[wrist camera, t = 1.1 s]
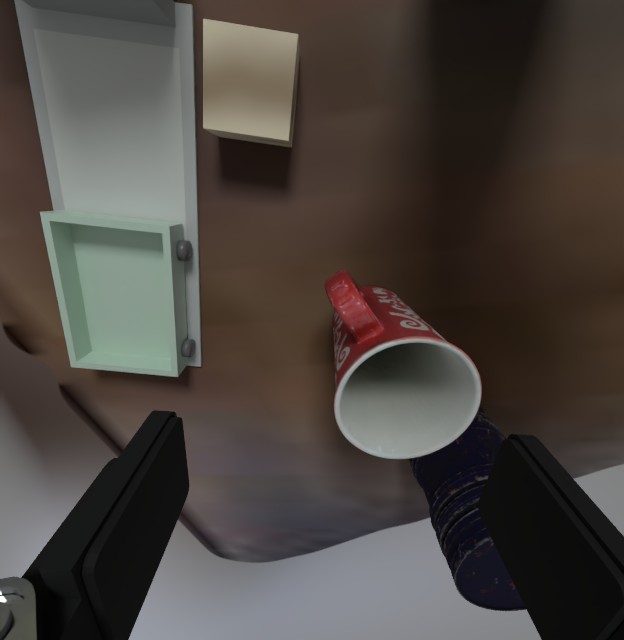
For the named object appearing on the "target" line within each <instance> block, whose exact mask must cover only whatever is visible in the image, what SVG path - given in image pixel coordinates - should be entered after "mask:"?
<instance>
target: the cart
mask: <svg viewBox="0 0 624 640" xmlns="http://www.w3.org/2000/svg"><path fill="white" fill-rule="evenodd" d="M40 215H41V220H42V225H43V230H44V235H45V240H46V245H47V250H48V255H49V260H50V265H51V270H52V275H53V279H54V284H55V289H56V294H57V299H58V304H59V309H60V314H61V319H62V324H63V329H64V334H65V339H66V344H67V348H68V353H69V358H70V363H71V367H77V368H88V369H98V370H109V371H119V372H130V373H140V374H151V375H161V376H172V377H178V376H179V375H180V374H181V372H182V371H183V369H184V368H185V367H186V365H187V364H188V357H192V356H193V354H194V351H195V340H194V339H187V321H186V298H185V274H184V261H187V262H189V261H190V260H191V257H192V244H191V242H190V241H187V240H183V226H182V223H174V222H166V221H157V220H148V219H139V218H131V217H122V216H113V215H104V214H95V213H87V212H78V211H69V210H58V211H45V212H40Z"/></svg>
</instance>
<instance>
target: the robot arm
mask: <svg viewBox="0 0 624 640" xmlns="http://www.w3.org/2000/svg"><path fill="white" fill-rule="evenodd" d="M188 491H189V477H188V468H187V459H186V449H185V440H184V431H183V422H182V418H180V417H177V416H176V413H175V412H170V411H155V410H154V411H152V412H151V413H150V415H149V416H148V417H147V419H146V420H145V421H144V423H143V424H142V426H141V427H140V428H139V430H138V431H137V433H136V434H135V435H134V437H133V438H132V439H131V441H130V442H129V444H128V445H127V446H126V448H125V449H124V451H123V452H122V453H121V455H120V456H119V457H118V458H114V459H112V460H111V461H110V462H108V464H107V465H106V466H105V467H104V468H103V469H102V471H101V472H100V473H99V475H98V476H97V477H96V479H95V480H94V481H93V483H92V484H91V485H90V487H89V488H88V489H87V491H86V492H85V493H84V495H83V496H82V498H81V499H80V500H79V502H78V503H77V504H76V506H75V507H74V508H73V510H72V511H71V512H70V514H69V515H68V516H67V518H66V519H65V520H64V522H63V523H62V524H61V526H60V527H59V528H58V530H57V531H56V532H55V534H54V535H53V536H52V538H51V539H50V540H49V542H48V543H47V544H46V546H45V547H44V548H43V550H42V551H41V552H40V554H39V555H38V556H37V558H36V559H35V560H34V562H33V563H32V564H31V566H30V567H29V569H28V570H27V571H26V572H25V574H24V575H23V576H22V578H19V577H9V578H4V579H0V640H128V639H129V637H130V634H131V632H132V629H133V627H134V624H135V622H136V619H137V617H138V615H139V612H140V610H141V607H142V605H143V602H144V600H145V598H146V595H147V593H148V590H149V588H150V585H151V583H152V581H153V578H154V576H155V573H156V571H157V568H158V566H159V563H160V561H161V559H162V556H163V554H164V551H165V549H166V547H167V544H168V542H169V539H170V537H171V534H172V532H173V530H174V527H175V525H176V522H177V520H178V517H179V515H180V513H181V510H182V508H183V505H184V503H185V500H186V498H187V495H188ZM478 511H479V514H480V517H481V519H482V521H483V523H484V525H485V527H486V529H487V531H488V533H489V535H490V537H491V539H492V541H493V543H494V545H495V547H496V549H497V551H498V553H499V555H500V557H501V559H502V561H503V563H504V565H505V567H506V569H507V571H508V573H509V575H510V577H511V579H512V581H513V583H514V585H515V587H516V589H517V591H518V593H519V595H520V597H521V599H522V601H523V603H524V605H525V607H526V609H527V611H528V613H529V615H530V617H531V619H532V621H533V623H534V625H535V627H536V629H537V631H538V633H539V635H540V637H541V639H542V640H624V536H623V535H622V534H621V533H620V532H619V531H618V530H617V528H616V527H615V526H614V525H613V524H612V523H611V522H610V520H609V519H608V518H607V517H606V516H605V515H604V514H603V512H602V511H601V510H600V509H599V508H598V507H597V506H596V505H595V503H594V502H593V501H592V500H591V499H590V498H589V496H588V495H587V494H586V493H585V492H584V491H583V490H582V489H581V487H580V486H579V485H578V484H577V483H576V482H575V481H574V479H573V478H572V477H571V476H570V475H569V474H568V473H567V471H566V470H565V469H564V468H563V467H562V466H561V465H560V463H559V462H558V461H557V460H556V459H555V458H554V457H553V455H552V454H551V453H550V452H549V451H548V450H547V449H546V447H545V446H544V445H543V444H542V443H541V442H540V441H539V440H538V439H537V438H536V437H535V436H532V435H518V434H511V435H510V436H509V437H508V438H507V439H505V440H503V442H502V444H501V447H500V449H499V452H498V454H497V456H496V459H495V461H494V464H493V466H492V469H491V471H490V474H489V476H488V479H487V481H486V483H485V486H484V488H483V491H482V493H481V496H480V498H479V501H478Z"/></svg>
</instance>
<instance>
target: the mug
mask: <svg viewBox="0 0 624 640" xmlns="http://www.w3.org/2000/svg"><path fill="white" fill-rule="evenodd" d="M325 290H326V293H327V296H328V298H329V300H330V302H331V304H332V306H333V307H334V309H335V312H334V316H333V335H334V358H335V383H336V391H335V396H334V415H335V419H336V422H337V425H338V427H339V429H340V431H341V432H342V434H343V435H344V436H345V437H346V439H347V440H348V441H349V442H350V443H352V444H353V445H354V446H356V447H357V448H359V449H360V450H362V451H364V452H366V453H368V454H371V455H374V456H377V457H381V458H388V459H408V458H416V457H420V456H424V455H427V454H430V453H433V452H435V451H437V450H439V449H441V448H443V447H445V446H447V445H448V444H450V443H451V442H453V441H454V440H455V439H457V438H458V437H459V436H460V435H461V434H462V433H463V432H464V431H465V430H466V429H467V428H468V427H469V425H470V424H471V422H472V421H473V419H474V417H475V416H476V413H477V411H478V409H479V406H480V402H481V396H482V385H481V379H480V375H479V373H478V370H477V368H476V366H475V364H474V363H473V361H472V360H471V359H470V358H469V356H468V355H467V354H466V353H464V352H463V351H462V350H461V349H460V348H458V347H457V346H455V345H453V344H451V343H449V342H447V341H446V340H445V339H444V338H443V337H442V336H441V335H440V334H439V333H437V332H436V331H435V330H434V329H433V328H432V327H431V326H430V325H429V324H427V323H426V322H425V321H424V320H423V319H421V318H420V317H419V316H418V315H417V314H416V313H415V312H414V311H413V310H412V309H411V308H410V307H409V306H407V305H406V304H405V303H404V302H403V301H402V300H401V299H400V298H399V297H398V296H397V295H396V294H394V293H393V292H391V291H389V290H388V289H385V288H383V287H378V286H365V287H360V288H359V286H358V285H357V283H356V282H355V280H354V279H353V278H352V276H351V275H350V273H349V272H348V271H347V270H341V271H339V272H337V273H335V274H334V275H333V276H331V277H330V278H329V279H328V280H327V281H326V282H325Z"/></svg>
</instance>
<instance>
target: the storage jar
mask: <svg viewBox="0 0 624 640" xmlns="http://www.w3.org/2000/svg"><path fill="white" fill-rule="evenodd" d="M505 439H506V438H505V436H504V435H503V434H501V432H500V431H499V429H498V428H497V427H496V425H495V424H494V423H493V421H492V420H490V419H489V418H488V417H487V416H486V415H485V413H484V412H483V410H482V409H481V408H480V407H479V409H478V411H477V413H476V416H475V417H474V419H473V421H472V422H471V424H470V425H469V427H468V428H467V429H466V430H465V431H464V432H463V433H462V434H461V435H460V436H459V437H458V438H457V439H455V440H454V441H453V442H451V443H450V444H448V445H447V446H445V447H443V448H441V449H439V450H437V451H435V452H433V453H430V454H427V455H424V456H420V457H416V458H409V461H410V464H411V467H412V470H413V474H414V476H415V478H416V479H417V481H418V483H419V485H420V486H421V487H422V488H423V490H424V492H425V495H426V498H427V500H428V503H429V506H430V509H429V511H430V517H431V523H432V526H433V528H434V530H435V531H436V536H437V539H438V542H439V544H440V547H441V550H442V553H443V554H444V556H445V557H446V560H447V563H448V565H449V568H450V570H451V573H452V576H453V579H454V582H455V585H456V587H457V590H458V591H459V593H460V594H461V596H463V597H464V598H465V599H466V600H467V601H469V602H470V603H472V604H474V605H477V606H479V607H482V608H486V609H491V610H498V611H499V610H500V611H517V610H525V609H526V607H525V605H524V603H523V601H522V599H521V597H520V595H519V593H518V591H517V589H516V587H515V585H514V583H513V581H512V579H511V577H510V575H509V573H508V571H507V569H506V567H505V565H504V563H503V561H502V559H501V557H500V555H499V553H498V551H497V549H496V547H495V545H494V543H493V541H492V539H491V537H490V535H489V533H488V531H487V529H486V527H485V525H484V523H483V521H482V519H481V517H480V514H479V511H478V501H479V498H480V496H481V493H482V491H483V488H484V486H485V483H486V481H487V479H488V476H489V474H490V471H491V469H492V466H493V464H494V461H495V459H496V456H497V454H498V452H499V449H500V447H501V444H502V442H503V440H505Z"/></svg>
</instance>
